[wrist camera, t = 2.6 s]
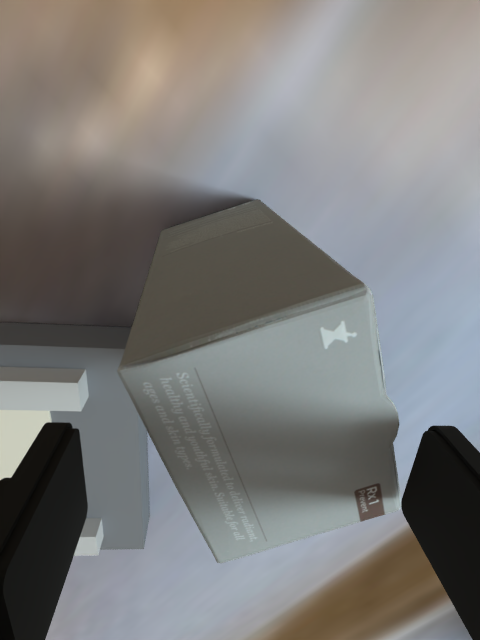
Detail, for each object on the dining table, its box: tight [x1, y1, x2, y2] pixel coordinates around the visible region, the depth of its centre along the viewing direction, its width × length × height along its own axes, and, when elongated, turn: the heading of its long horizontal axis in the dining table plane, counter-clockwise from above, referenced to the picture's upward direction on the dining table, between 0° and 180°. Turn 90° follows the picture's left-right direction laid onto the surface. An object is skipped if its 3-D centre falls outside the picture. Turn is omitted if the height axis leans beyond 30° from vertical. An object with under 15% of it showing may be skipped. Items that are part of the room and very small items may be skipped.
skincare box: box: [117, 199, 401, 563], centre depth 17 cm, size 8×7×16 cm
